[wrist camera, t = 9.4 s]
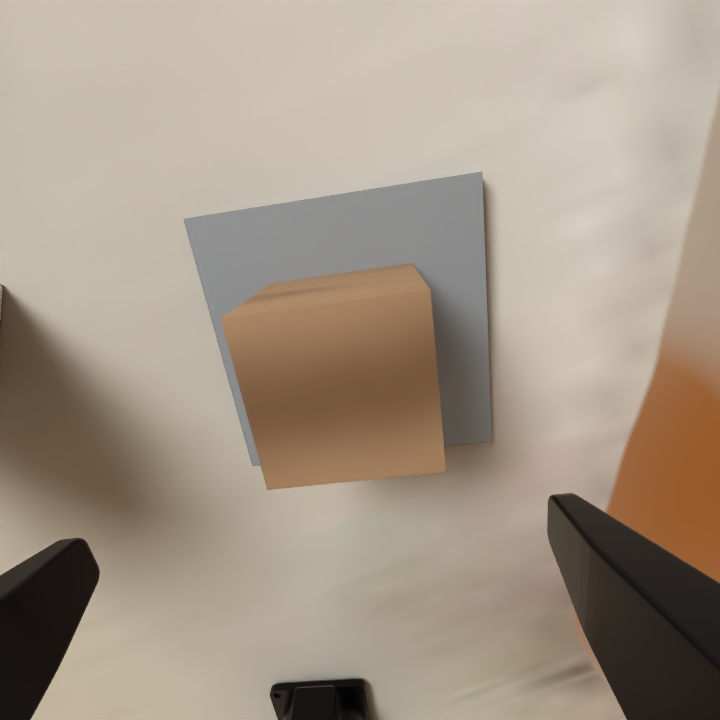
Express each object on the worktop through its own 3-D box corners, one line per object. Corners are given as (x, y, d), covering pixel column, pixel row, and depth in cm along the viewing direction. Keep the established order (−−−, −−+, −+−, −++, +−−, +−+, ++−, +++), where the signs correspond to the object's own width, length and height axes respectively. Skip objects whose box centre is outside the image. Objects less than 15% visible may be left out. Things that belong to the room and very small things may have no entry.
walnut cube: (424, 393, 19) (446, 471, 13) (298, 407, 19) (267, 490, 14) (411, 262, 17) (430, 289, 11) (271, 283, 17) (220, 318, 12)
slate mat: (487, 432, 20) (491, 441, 19) (256, 457, 21) (252, 466, 20) (477, 173, 16) (482, 171, 15) (191, 218, 17) (183, 219, 16)
